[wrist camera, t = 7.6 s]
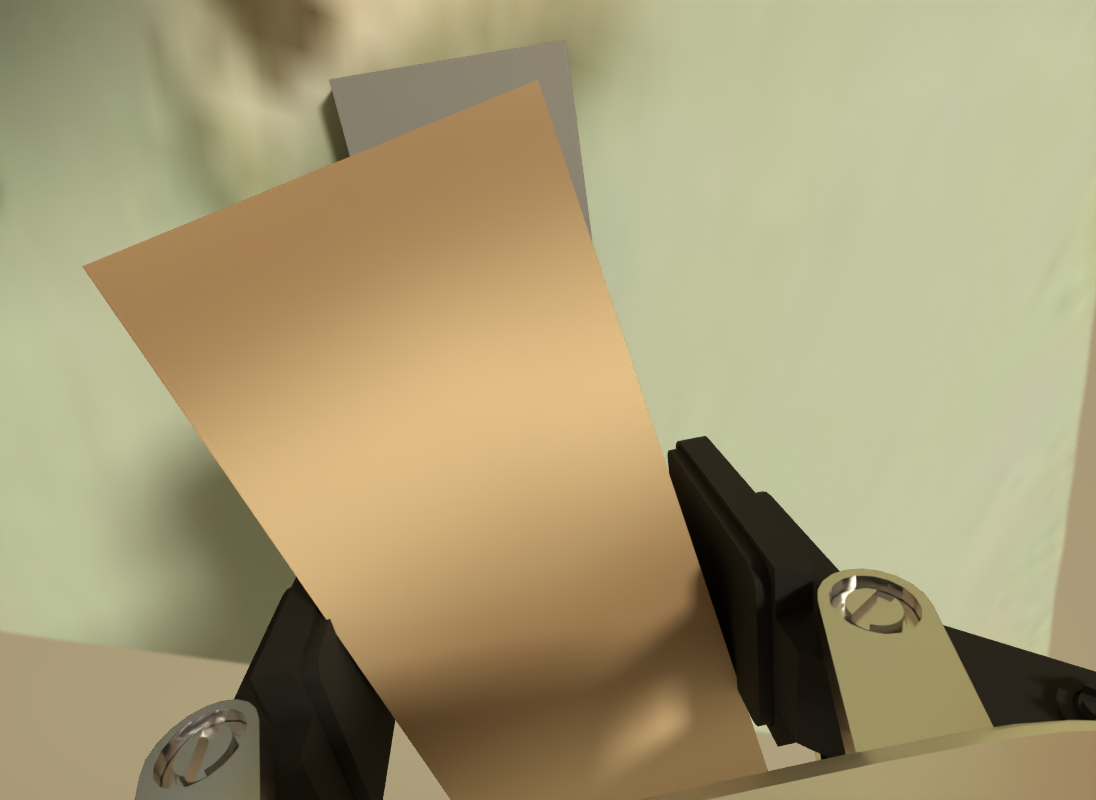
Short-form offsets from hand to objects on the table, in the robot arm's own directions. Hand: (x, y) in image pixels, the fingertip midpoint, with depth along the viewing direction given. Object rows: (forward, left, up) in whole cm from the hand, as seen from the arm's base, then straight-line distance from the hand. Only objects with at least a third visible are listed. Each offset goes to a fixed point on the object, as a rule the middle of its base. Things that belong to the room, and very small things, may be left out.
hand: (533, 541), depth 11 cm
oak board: (0, 0, -1) cm, 1 cm away
